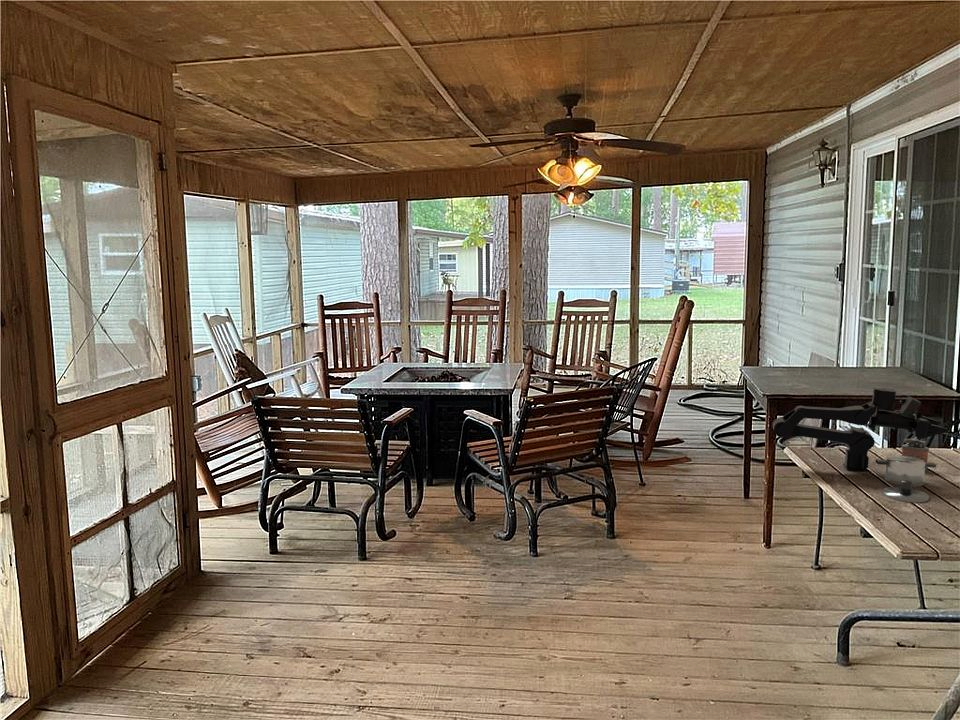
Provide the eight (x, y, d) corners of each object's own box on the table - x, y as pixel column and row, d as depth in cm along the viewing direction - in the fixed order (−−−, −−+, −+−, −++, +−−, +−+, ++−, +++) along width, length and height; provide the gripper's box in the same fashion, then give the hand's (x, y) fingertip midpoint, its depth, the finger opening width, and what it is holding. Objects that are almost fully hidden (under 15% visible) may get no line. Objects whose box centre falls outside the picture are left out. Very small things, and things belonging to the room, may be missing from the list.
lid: (889, 501, 212) (890, 486, 211) (877, 488, 224) (878, 473, 223) (935, 505, 209) (936, 489, 208) (920, 491, 220) (922, 476, 220)
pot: (880, 484, 226) (881, 463, 225) (870, 474, 237) (872, 454, 236) (939, 488, 222) (941, 467, 221) (927, 477, 232) (928, 457, 231)
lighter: (927, 467, 243) (929, 440, 241) (927, 470, 240) (929, 442, 238) (900, 464, 247) (902, 436, 246) (899, 466, 244) (902, 439, 243)
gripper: (902, 403, 227) (957, 410, 222) (889, 391, 244) (940, 397, 239) (895, 435, 229) (950, 443, 224) (883, 421, 246) (934, 428, 241)
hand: (943, 426), depth 232 cm, fingers open, 9 cm apart
